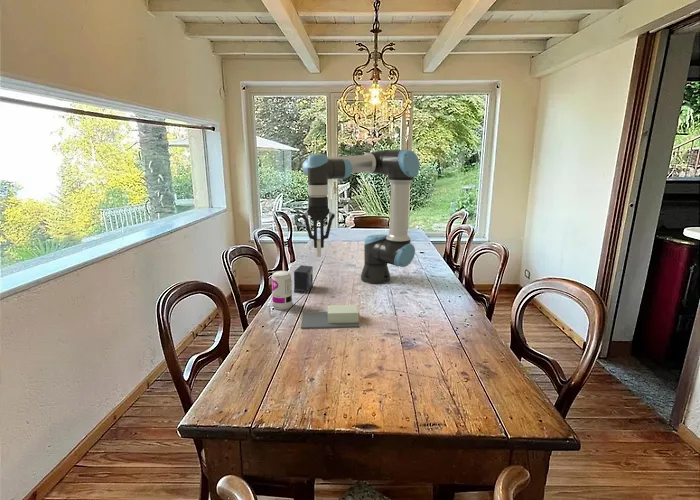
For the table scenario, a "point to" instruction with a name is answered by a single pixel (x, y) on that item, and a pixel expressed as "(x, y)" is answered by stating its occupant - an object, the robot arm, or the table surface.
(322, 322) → the mat
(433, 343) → the table surface
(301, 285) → the small box
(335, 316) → the slab
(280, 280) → the supplement can
